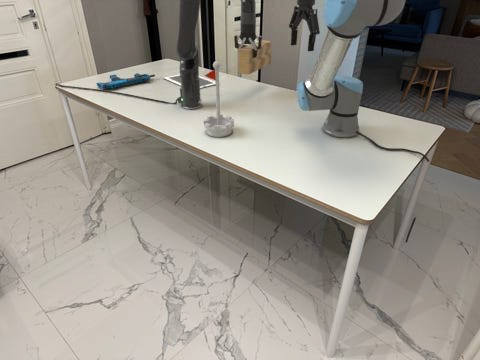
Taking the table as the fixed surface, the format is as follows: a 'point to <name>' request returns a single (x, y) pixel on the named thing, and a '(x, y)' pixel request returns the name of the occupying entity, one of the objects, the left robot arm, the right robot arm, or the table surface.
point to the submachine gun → (124, 81)
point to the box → (253, 64)
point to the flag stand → (218, 111)
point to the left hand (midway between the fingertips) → (247, 57)
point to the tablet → (203, 81)
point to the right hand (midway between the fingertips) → (301, 48)
